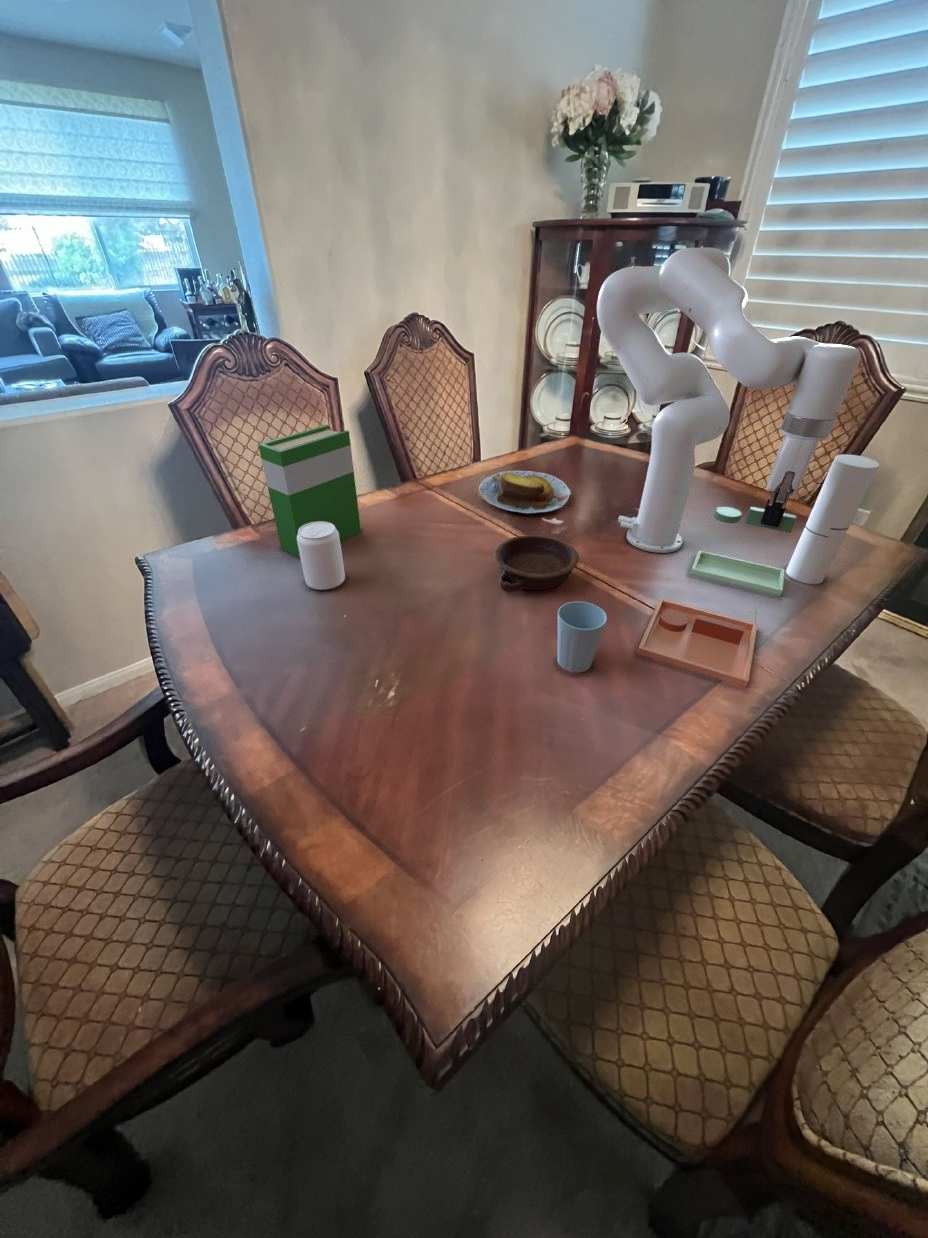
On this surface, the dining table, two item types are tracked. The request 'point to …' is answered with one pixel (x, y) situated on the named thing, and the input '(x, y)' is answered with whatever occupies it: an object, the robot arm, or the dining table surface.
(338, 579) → the beverage can
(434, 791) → the dining table surface
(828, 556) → the cylindrical container
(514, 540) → the dish
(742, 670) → the terracotta tray
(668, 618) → the terracotta cylinder and block
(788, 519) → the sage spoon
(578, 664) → the cup
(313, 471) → the hardback book
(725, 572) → the sage tray
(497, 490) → the food on plate
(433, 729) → the dining table surface
